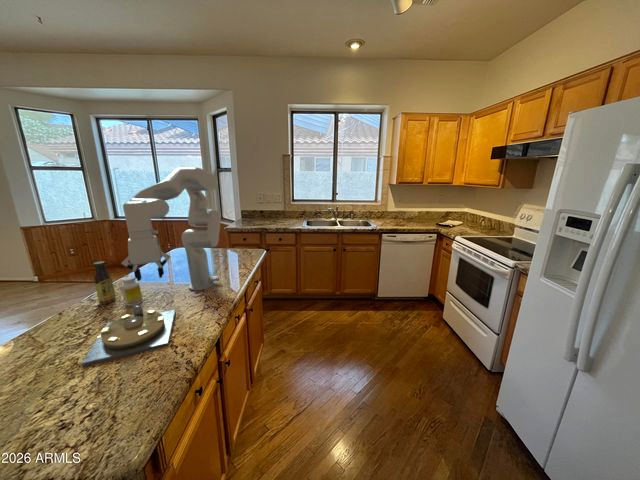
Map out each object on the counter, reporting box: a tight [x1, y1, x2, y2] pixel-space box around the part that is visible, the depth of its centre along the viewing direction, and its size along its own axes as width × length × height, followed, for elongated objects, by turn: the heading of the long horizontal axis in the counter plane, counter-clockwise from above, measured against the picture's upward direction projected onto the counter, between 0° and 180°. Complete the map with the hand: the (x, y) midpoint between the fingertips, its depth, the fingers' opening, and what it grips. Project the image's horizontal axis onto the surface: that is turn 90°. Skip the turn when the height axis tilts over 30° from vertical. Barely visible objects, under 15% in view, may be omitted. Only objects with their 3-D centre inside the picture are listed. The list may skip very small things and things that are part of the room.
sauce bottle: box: [93, 260, 116, 305], centre depth 118 cm, size 7×6×20 cm
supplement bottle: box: [121, 275, 144, 307], centre depth 117 cm, size 7×7×13 cm
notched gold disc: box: [100, 303, 165, 349], centre depth 94 cm, size 19×19×7 cm
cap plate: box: [80, 309, 176, 368], centre depth 95 cm, size 24×24×2 cm
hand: (150, 277), depth 99 cm, fingers open, 6 cm apart
